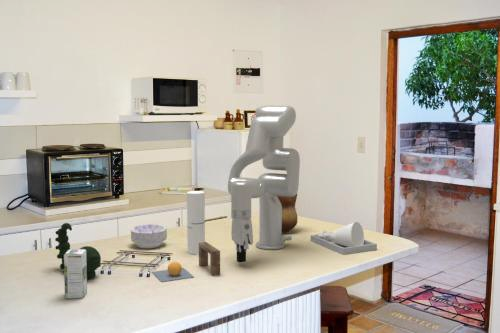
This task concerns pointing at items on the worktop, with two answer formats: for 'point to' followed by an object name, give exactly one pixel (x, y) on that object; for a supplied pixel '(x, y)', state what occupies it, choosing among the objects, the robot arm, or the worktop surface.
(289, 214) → the brown vase
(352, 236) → the rocket engine
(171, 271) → the ball
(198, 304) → the worktop surface
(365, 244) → the grey rimmed tray
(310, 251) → the worktop surface
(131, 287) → the worktop surface
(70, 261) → the syrup box
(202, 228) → the cylindrical container
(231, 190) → the robot arm
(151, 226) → the paper bowls
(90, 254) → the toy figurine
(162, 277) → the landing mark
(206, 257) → the bridge
